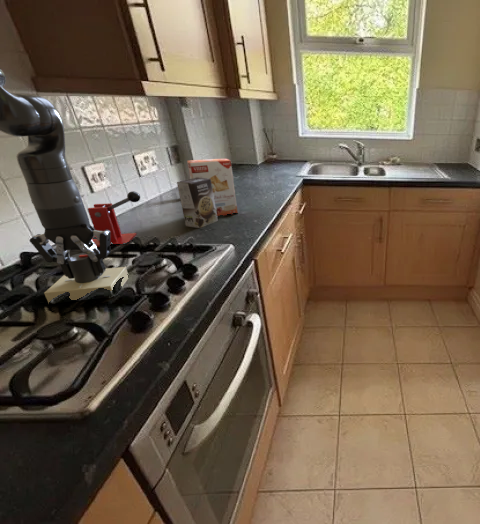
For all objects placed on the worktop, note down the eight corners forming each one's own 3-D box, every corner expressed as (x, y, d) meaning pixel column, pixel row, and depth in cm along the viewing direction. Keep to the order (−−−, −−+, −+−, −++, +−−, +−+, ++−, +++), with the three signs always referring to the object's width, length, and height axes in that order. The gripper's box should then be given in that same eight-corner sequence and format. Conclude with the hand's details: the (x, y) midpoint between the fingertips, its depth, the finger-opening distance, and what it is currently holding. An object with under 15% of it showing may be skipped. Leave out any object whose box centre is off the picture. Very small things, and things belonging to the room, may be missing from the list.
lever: (144, 197, 101) (136, 188, 99) (141, 200, 98) (133, 190, 96) (103, 216, 100) (95, 207, 98) (99, 220, 97) (90, 210, 95)
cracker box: (200, 219, 124) (189, 162, 115) (197, 215, 128) (186, 159, 119) (238, 214, 132) (230, 159, 123) (234, 210, 136) (226, 157, 127)
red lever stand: (137, 236, 107) (126, 201, 102) (128, 247, 99) (116, 209, 94) (97, 239, 104) (84, 202, 99) (84, 250, 96) (69, 211, 91)
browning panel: (49, 305, 71) (43, 292, 69) (71, 283, 79) (66, 271, 78) (114, 297, 74) (110, 285, 73) (129, 277, 83) (125, 266, 81)
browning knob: (71, 284, 73) (61, 260, 70) (80, 275, 77) (71, 252, 74) (95, 281, 74) (86, 258, 72) (103, 273, 78) (95, 250, 75)
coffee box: (200, 230, 114) (190, 183, 107) (185, 227, 116) (175, 181, 109) (219, 222, 122) (211, 178, 115) (205, 220, 124) (196, 176, 117)
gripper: (106, 196, 73) (128, 265, 80) (26, 199, 69) (57, 272, 76) (92, 205, 67) (117, 279, 74) (2, 209, 63) (38, 287, 70)
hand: (86, 275), depth 75 cm, fingers open, 4 cm apart
